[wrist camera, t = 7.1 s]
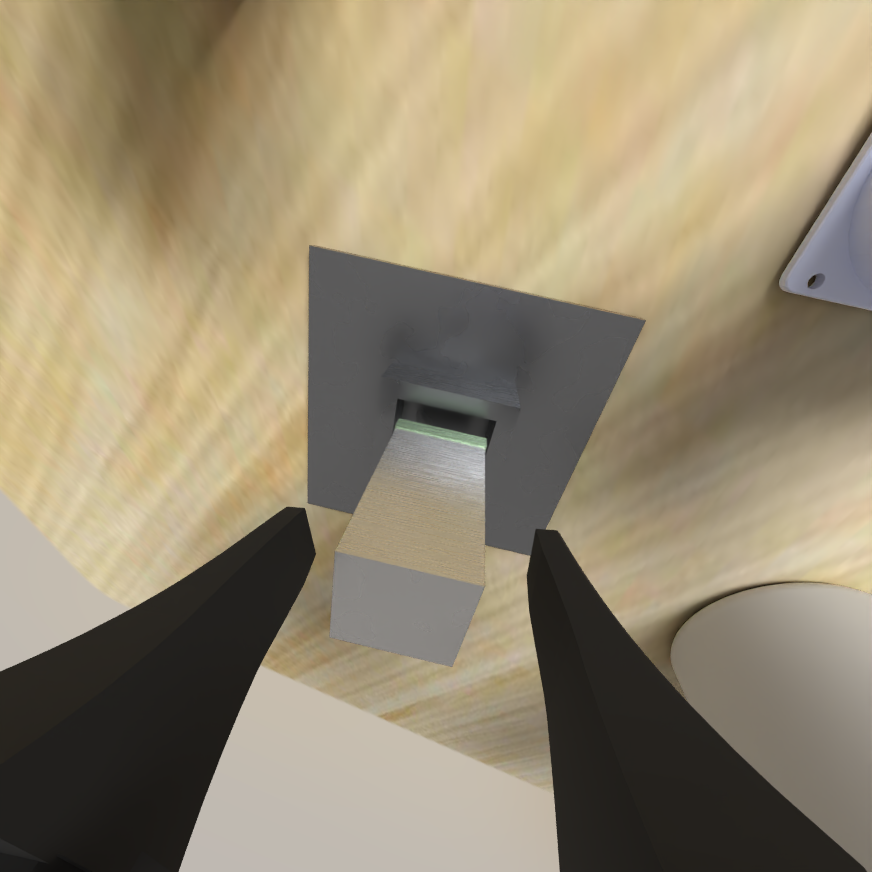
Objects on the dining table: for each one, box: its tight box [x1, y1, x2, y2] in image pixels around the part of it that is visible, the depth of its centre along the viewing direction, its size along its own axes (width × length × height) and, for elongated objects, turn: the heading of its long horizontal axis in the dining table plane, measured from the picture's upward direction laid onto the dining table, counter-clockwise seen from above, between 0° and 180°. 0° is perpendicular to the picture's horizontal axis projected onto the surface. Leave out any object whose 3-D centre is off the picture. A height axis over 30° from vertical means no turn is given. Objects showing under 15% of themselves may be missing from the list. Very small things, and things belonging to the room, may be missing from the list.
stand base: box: [308, 245, 646, 556], centre depth 17 cm, size 14×14×3 cm
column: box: [330, 418, 487, 667], centre depth 12 cm, size 4×4×7 cm
